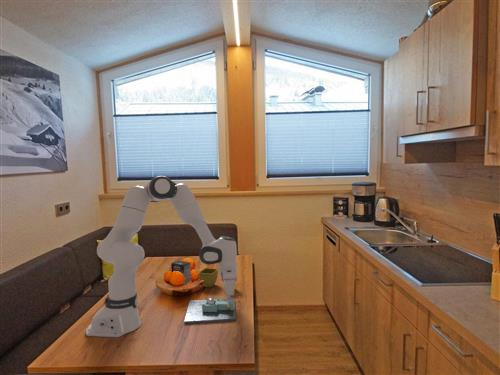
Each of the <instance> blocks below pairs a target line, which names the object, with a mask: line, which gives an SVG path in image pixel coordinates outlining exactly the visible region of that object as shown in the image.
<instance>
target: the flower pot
mask: <svg viewBox="0 0 500 375" xmlns="http://www.w3.org/2000/svg"><path fill="white" fill-rule="evenodd" d="M218 275H219V268H211V267H204V268H203V269H202V270H200V271H199V272H198V278H199V281H200V280H204V281H205V282H204V287H205V288H212V287H213V286H215V285H216V283H217V280H218Z"/></svg>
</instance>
